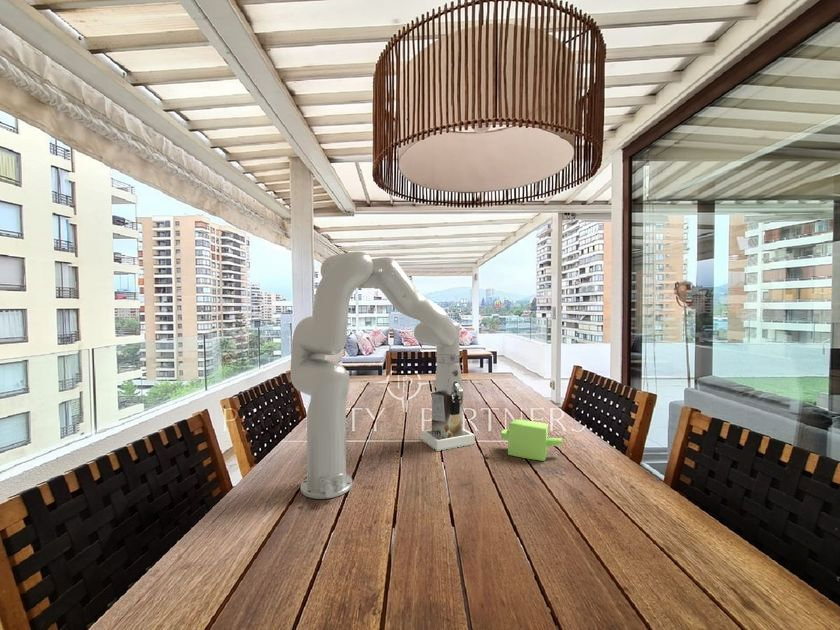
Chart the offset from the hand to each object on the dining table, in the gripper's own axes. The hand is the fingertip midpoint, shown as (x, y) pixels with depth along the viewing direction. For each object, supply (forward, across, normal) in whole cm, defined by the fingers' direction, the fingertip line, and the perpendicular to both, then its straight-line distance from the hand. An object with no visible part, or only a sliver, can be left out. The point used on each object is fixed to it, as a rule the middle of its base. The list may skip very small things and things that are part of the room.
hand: (447, 410), depth 127 cm
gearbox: (+11, -19, -19) cm, 29 cm away
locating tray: (+11, 0, 0) cm, 11 cm away
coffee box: (+10, 0, 0) cm, 10 cm away
